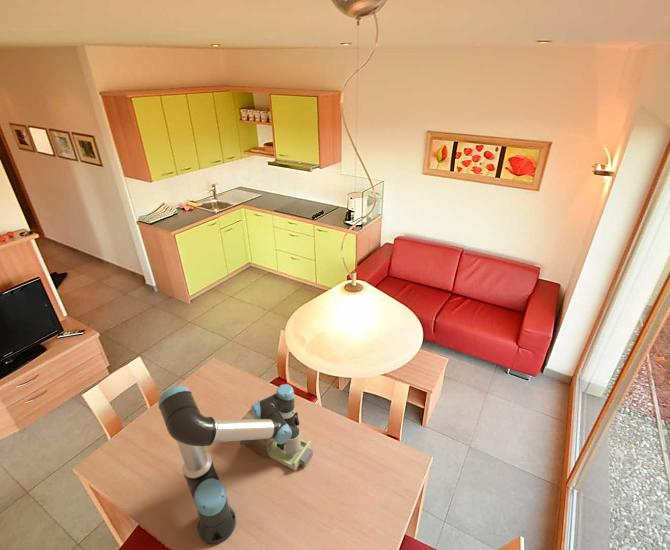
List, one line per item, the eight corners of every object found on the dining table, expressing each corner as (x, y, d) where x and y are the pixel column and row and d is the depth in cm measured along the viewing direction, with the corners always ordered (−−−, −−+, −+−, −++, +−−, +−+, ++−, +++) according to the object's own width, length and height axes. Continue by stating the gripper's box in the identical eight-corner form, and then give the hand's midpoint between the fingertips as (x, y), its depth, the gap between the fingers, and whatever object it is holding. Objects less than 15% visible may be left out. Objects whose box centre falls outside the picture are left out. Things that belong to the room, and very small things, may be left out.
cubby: (267, 459, 189) (264, 438, 182) (240, 444, 196) (236, 423, 189) (286, 433, 202) (285, 413, 195) (261, 420, 209) (258, 400, 202)
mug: (303, 442, 192) (302, 427, 186) (297, 456, 185) (296, 441, 179) (281, 435, 195) (280, 420, 189) (274, 450, 188) (272, 435, 182)
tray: (300, 473, 182) (300, 466, 179) (266, 454, 190) (265, 447, 188) (316, 450, 193) (316, 443, 190) (283, 433, 201) (282, 426, 199)
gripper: (279, 433, 169) (282, 465, 180) (306, 400, 185) (307, 432, 196) (266, 426, 172) (269, 458, 183) (293, 394, 188) (295, 426, 199)
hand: (289, 444), depth 190 cm, fingers closed on mug, 8 cm apart
